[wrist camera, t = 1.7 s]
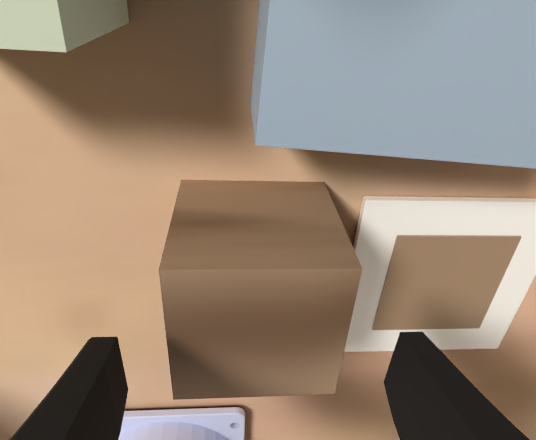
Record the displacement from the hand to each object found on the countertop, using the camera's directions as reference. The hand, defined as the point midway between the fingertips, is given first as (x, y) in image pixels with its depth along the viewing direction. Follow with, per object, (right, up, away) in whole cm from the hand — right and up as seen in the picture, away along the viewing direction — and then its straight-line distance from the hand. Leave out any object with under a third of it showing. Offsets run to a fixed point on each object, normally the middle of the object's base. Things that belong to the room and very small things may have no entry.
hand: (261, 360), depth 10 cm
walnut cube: (0, +3, +5) cm, 6 cm away
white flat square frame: (+7, +1, +7) cm, 10 cm away
